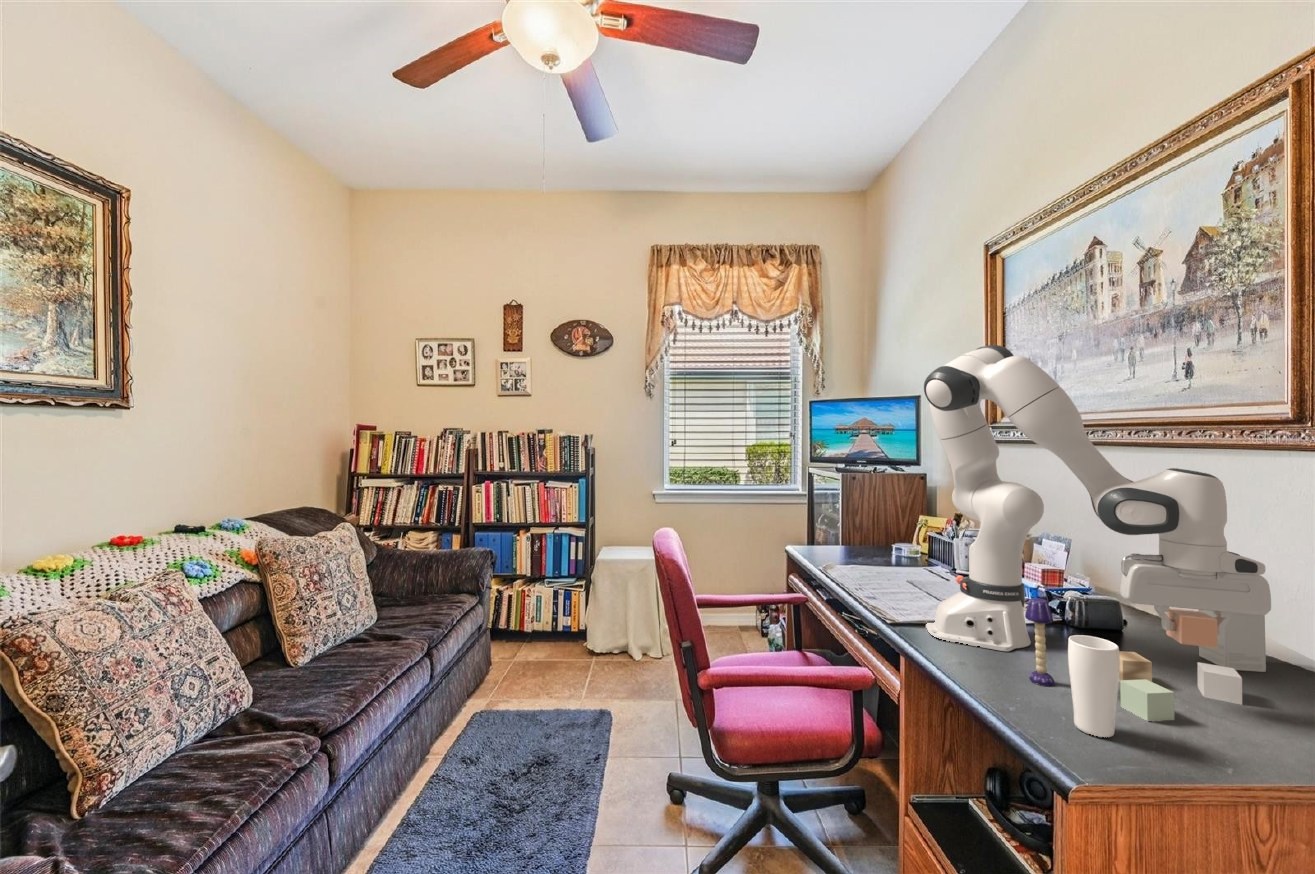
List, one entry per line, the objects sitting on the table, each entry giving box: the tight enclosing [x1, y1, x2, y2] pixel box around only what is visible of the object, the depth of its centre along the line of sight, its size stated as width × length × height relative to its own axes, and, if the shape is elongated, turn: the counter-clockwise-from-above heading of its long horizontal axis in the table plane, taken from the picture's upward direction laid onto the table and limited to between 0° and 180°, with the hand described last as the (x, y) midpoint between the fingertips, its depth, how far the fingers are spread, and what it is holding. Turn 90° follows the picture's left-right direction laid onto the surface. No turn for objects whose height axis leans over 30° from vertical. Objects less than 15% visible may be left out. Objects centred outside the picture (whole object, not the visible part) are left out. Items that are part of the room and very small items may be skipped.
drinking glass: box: [1067, 634, 1120, 739], centre depth 90 cm, size 7×7×15 cm
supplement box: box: [1198, 609, 1267, 673], centre depth 115 cm, size 7×7×13 cm
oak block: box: [1119, 650, 1153, 683], centre depth 108 cm, size 5×5×5 cm
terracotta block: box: [1165, 607, 1218, 648], centre depth 97 cm, size 5×5×5 cm
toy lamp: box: [1024, 597, 1056, 687], centre depth 107 cm, size 5×5×17 cm
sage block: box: [1119, 679, 1175, 722], centre depth 95 cm, size 5×5×5 cm
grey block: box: [1196, 662, 1243, 706], centre depth 101 cm, size 5×5×5 cm
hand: (1191, 632), depth 97 cm, fingers closed on terracotta block, 5 cm apart
